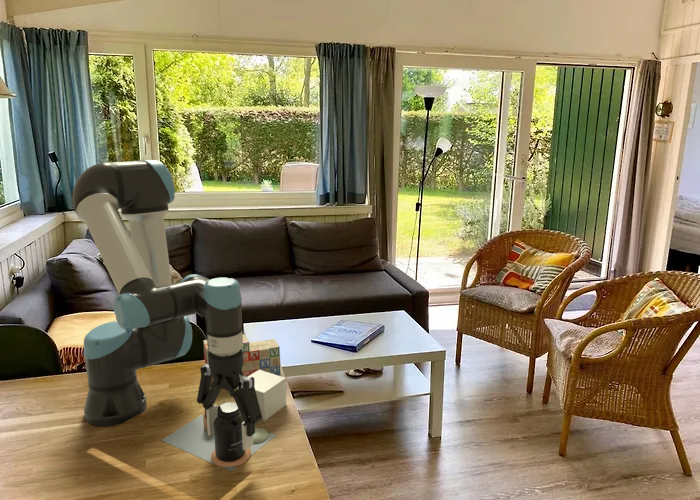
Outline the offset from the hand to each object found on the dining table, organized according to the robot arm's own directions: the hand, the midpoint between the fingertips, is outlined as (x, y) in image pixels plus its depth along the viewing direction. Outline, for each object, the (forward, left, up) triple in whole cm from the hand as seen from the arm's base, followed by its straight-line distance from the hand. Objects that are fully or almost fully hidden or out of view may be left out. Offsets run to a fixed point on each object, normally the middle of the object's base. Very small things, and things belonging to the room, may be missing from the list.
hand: (230, 439), depth 125 cm
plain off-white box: (-7, +19, -5) cm, 21 cm away
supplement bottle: (0, 0, -4) cm, 4 cm away
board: (-7, +3, -5) cm, 9 cm away
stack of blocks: (-24, +32, -6) cm, 40 cm away
